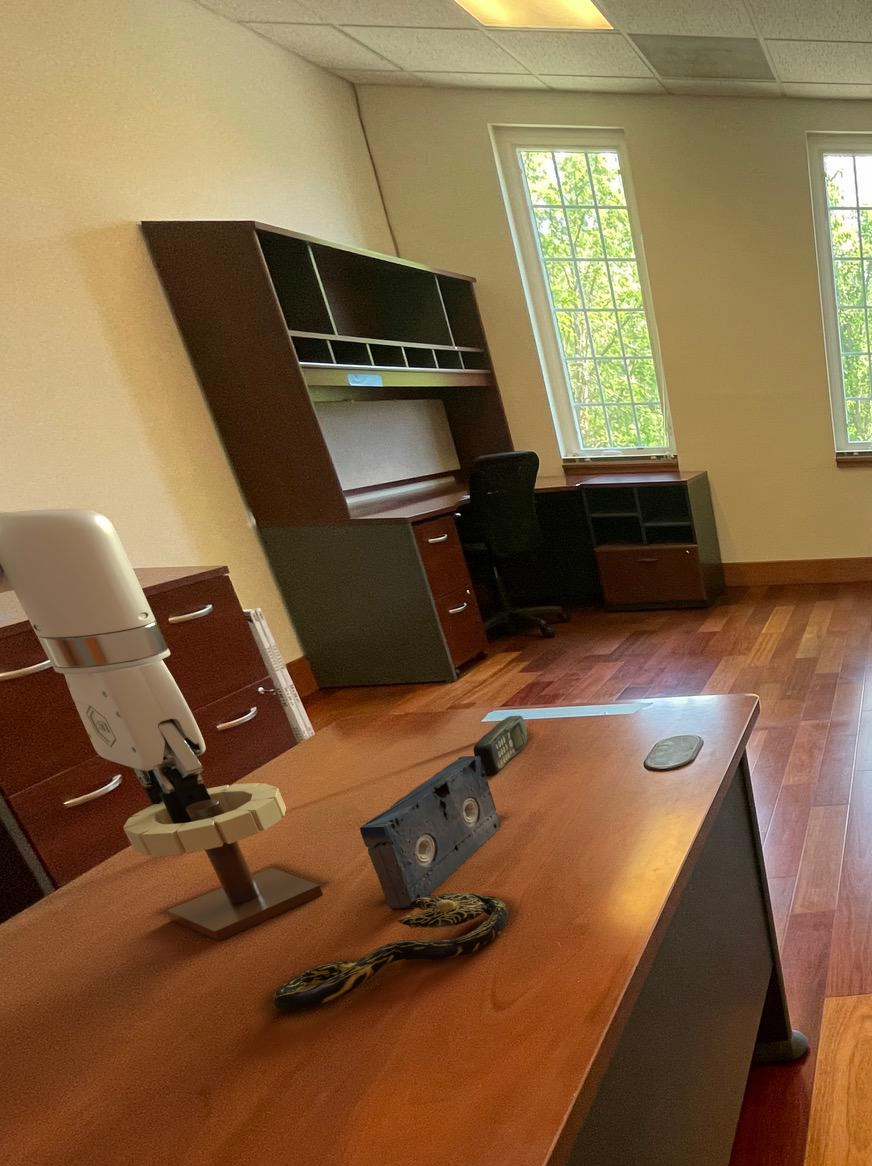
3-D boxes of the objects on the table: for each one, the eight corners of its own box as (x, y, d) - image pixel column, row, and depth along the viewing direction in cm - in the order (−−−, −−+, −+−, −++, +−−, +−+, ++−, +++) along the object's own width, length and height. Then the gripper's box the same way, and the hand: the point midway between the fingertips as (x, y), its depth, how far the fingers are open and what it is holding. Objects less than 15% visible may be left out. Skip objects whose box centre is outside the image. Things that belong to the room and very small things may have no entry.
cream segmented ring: (112, 842, 77) (100, 820, 76) (249, 795, 86) (240, 776, 85) (171, 865, 73) (160, 843, 72) (309, 814, 82) (300, 794, 81)
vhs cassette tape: (481, 826, 99) (460, 755, 95) (506, 826, 100) (485, 754, 96) (384, 911, 83) (352, 828, 79) (413, 910, 83) (384, 827, 79)
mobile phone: (490, 745, 111) (528, 707, 125) (466, 747, 111) (507, 708, 124) (499, 777, 113) (536, 736, 127) (476, 778, 113) (515, 737, 126)
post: (171, 919, 81) (117, 815, 76) (275, 876, 89) (232, 779, 84) (219, 941, 78) (167, 833, 73) (323, 894, 85) (282, 794, 81)
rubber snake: (257, 979, 65) (267, 931, 72) (274, 1026, 66) (283, 974, 74) (509, 908, 76) (496, 872, 83) (520, 950, 77) (506, 911, 84)
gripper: (9, 647, 73) (101, 821, 81) (94, 668, 68) (185, 852, 75) (118, 629, 80) (194, 791, 87) (205, 646, 74) (278, 818, 81)
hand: (189, 818), depth 81 cm, fingers closed on cream segmented ring, 2 cm apart
